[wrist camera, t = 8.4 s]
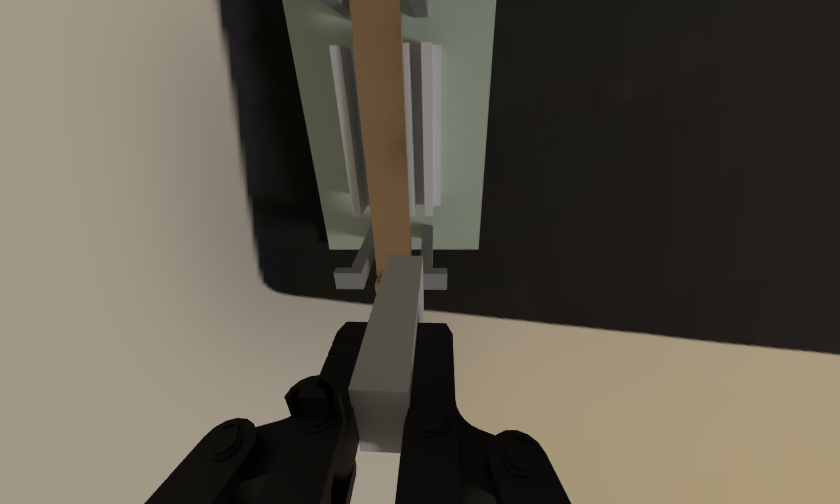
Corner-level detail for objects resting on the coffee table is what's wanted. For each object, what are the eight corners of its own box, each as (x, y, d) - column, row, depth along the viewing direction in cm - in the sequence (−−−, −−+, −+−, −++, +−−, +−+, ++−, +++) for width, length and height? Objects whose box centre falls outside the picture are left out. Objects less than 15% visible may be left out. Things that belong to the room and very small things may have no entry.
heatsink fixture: (281, -40, 23) (184, -113, 15) (497, -52, 22) (536, -138, 14) (333, 244, 35) (297, 300, 26) (477, 244, 34) (490, 302, 25)
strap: (348, -29, 19) (337, -44, 17) (401, -32, 18) (397, -47, 16) (379, 278, 28) (374, 292, 26) (414, 278, 28) (412, 292, 26)
